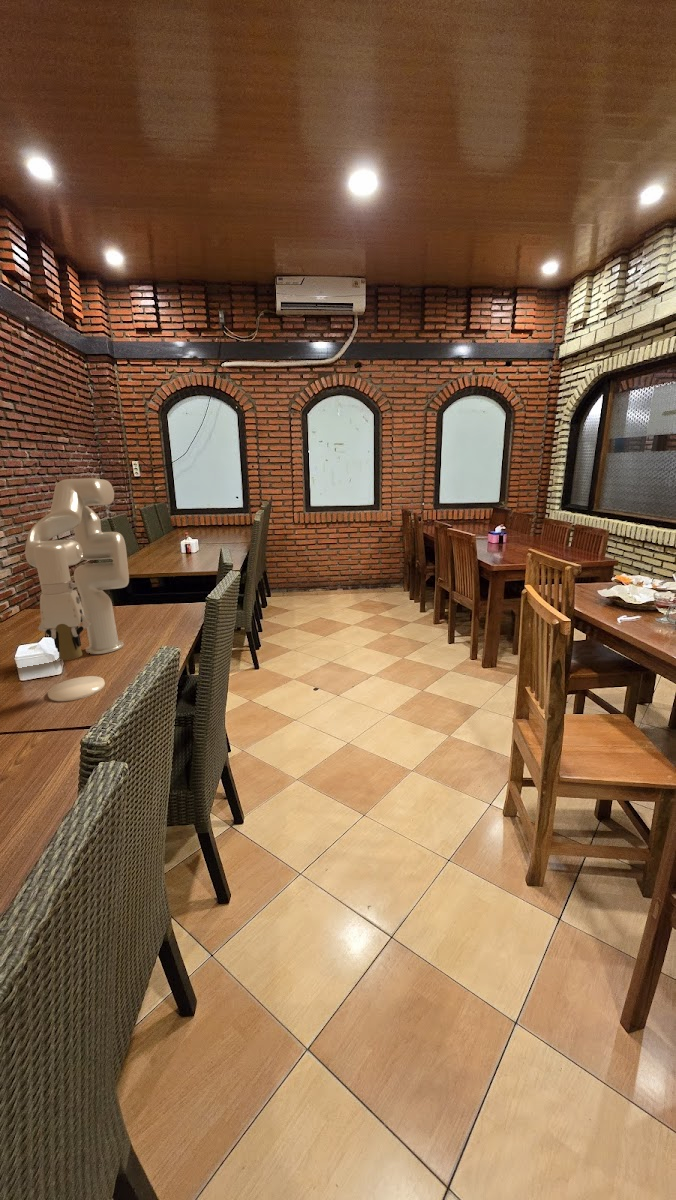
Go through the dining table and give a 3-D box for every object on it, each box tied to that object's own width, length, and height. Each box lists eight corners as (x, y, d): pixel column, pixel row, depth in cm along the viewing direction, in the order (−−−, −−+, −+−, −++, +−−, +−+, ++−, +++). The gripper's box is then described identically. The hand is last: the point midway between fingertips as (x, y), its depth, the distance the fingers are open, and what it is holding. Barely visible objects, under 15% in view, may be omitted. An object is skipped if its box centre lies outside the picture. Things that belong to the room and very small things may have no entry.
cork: (72, 660, 136) (65, 623, 134) (54, 659, 138) (46, 623, 135) (87, 652, 142) (80, 617, 139) (69, 652, 143) (62, 616, 140)
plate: (59, 682, 149) (59, 679, 148) (110, 676, 151) (110, 673, 151) (39, 704, 134) (38, 700, 134) (96, 697, 137) (95, 694, 136)
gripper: (92, 583, 139) (103, 642, 144) (30, 587, 137) (43, 648, 142) (84, 588, 132) (95, 651, 137) (18, 593, 130) (32, 657, 134)
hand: (69, 648), depth 139 cm, fingers closed on cork, 3 cm apart
